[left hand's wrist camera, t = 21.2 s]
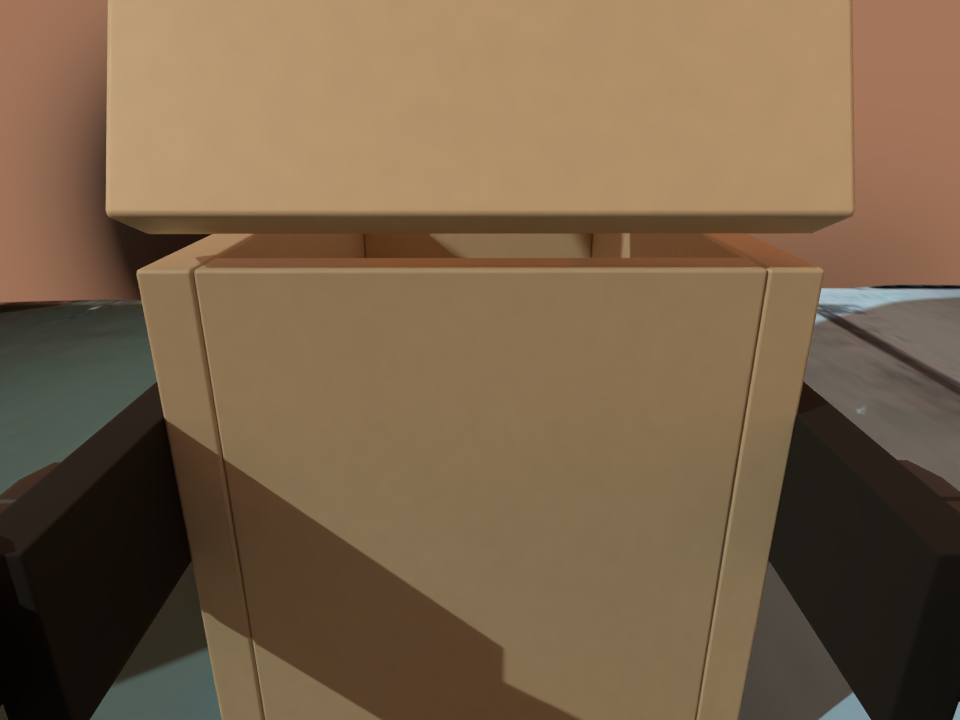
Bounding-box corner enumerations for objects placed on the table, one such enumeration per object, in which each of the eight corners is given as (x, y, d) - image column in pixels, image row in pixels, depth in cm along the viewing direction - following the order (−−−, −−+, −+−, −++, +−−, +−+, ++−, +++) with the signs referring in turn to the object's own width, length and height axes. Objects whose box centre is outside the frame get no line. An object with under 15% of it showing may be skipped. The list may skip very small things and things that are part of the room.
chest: (360, 439, 27) (340, 172, 23) (596, 438, 27) (615, 171, 23) (235, 795, 13) (133, 270, 9) (725, 793, 13) (827, 269, 9)
